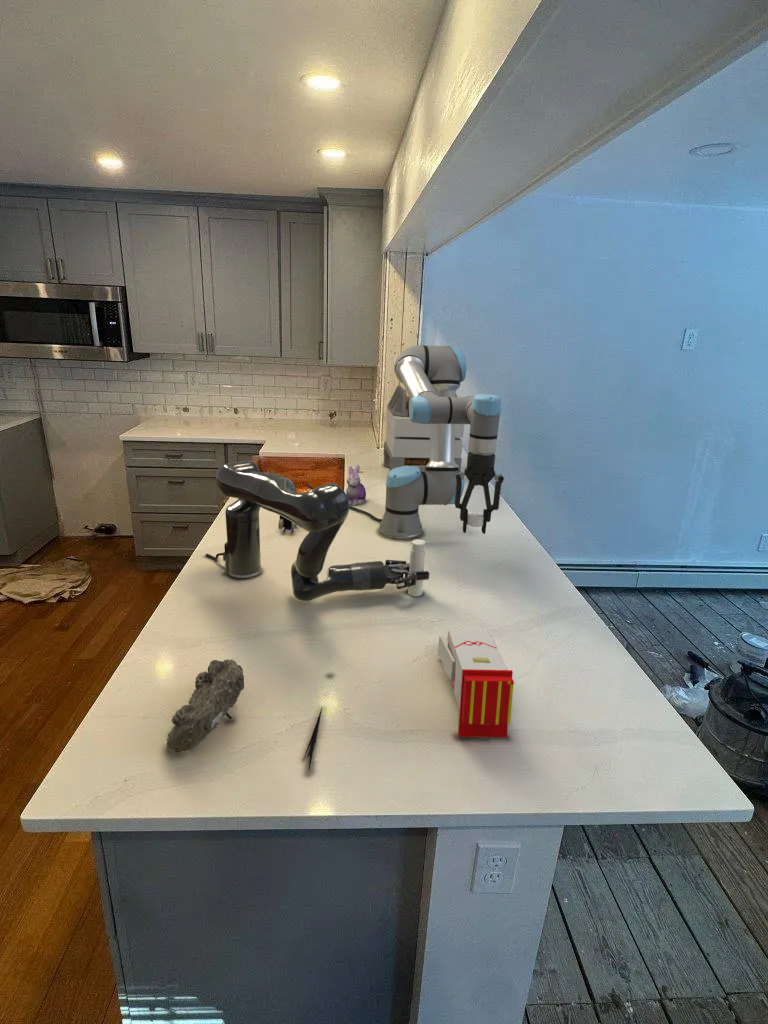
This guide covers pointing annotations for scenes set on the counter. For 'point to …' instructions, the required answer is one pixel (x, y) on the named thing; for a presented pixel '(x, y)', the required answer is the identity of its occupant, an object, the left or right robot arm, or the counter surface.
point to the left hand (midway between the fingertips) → (425, 571)
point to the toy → (478, 682)
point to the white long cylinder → (417, 565)
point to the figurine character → (286, 524)
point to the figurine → (355, 487)
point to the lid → (475, 520)
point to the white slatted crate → (410, 436)
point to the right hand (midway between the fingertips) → (473, 531)
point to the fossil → (206, 705)
